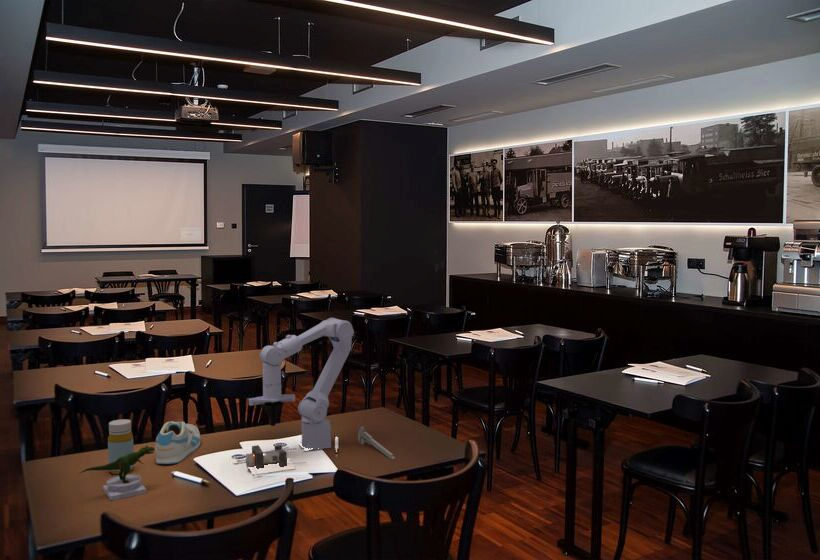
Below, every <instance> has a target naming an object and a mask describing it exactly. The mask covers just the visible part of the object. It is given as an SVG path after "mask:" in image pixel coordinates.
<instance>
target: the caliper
mask: <svg viewBox="0 0 820 560" xmlns="http://www.w3.org/2000/svg"><path fill="white" fill-rule="evenodd" d="M365 430H366V428H365V427H364V426H360V429H358V435H357V437H358V438H357V442H358V444H360V445H361V446H363V445H365V443H367V445H372V446H373V447H374V448H376V449H377V450H378V451H379V452H380V453H382V454H383V455H385V456H386V457H387V458H389V459H391V460H396V457H395V456H394V454H393V453H392V452H391V451H389V450H388V449H387V448H385V447H384V446H383V445H381V444H380V443H379V442H378V441H376V440H375V439H374V438H373V436H372V435H370V433H368V432H367V431H365Z"/></svg>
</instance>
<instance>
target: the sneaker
mask: <svg viewBox="0 0 820 560" xmlns="http://www.w3.org/2000/svg"><path fill="white" fill-rule="evenodd" d="M199 447H201V433H200V431H199V428H198V427H197V426H196V425H194V424H191V423H185V421H167V422H165V423H164V424H163V426H162V427H161V429H160V431H159V433H157V436H156V438H155V447H154V449H155V450H154V452H155V456H156V458H155V463H156V464H158V465H174V464H179V463H181V462H183V460H186V458H187V457H188V456H189V455H191V454H192V453H193V452H195V451H196V450H198V448H199Z"/></svg>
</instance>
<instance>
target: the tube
mask: <svg viewBox="0 0 820 560" xmlns="http://www.w3.org/2000/svg"><path fill="white" fill-rule="evenodd" d="M283 451H284V449H283V448H282V449H281V450H275V449H274V450H267V451H266V450H265V451H263V460H264V465H268V464H277V463H279V452H283ZM245 465H246V468H247V469H248V467H254V466H256V454H255V453H252V452H250V453H246V455H245Z"/></svg>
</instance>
